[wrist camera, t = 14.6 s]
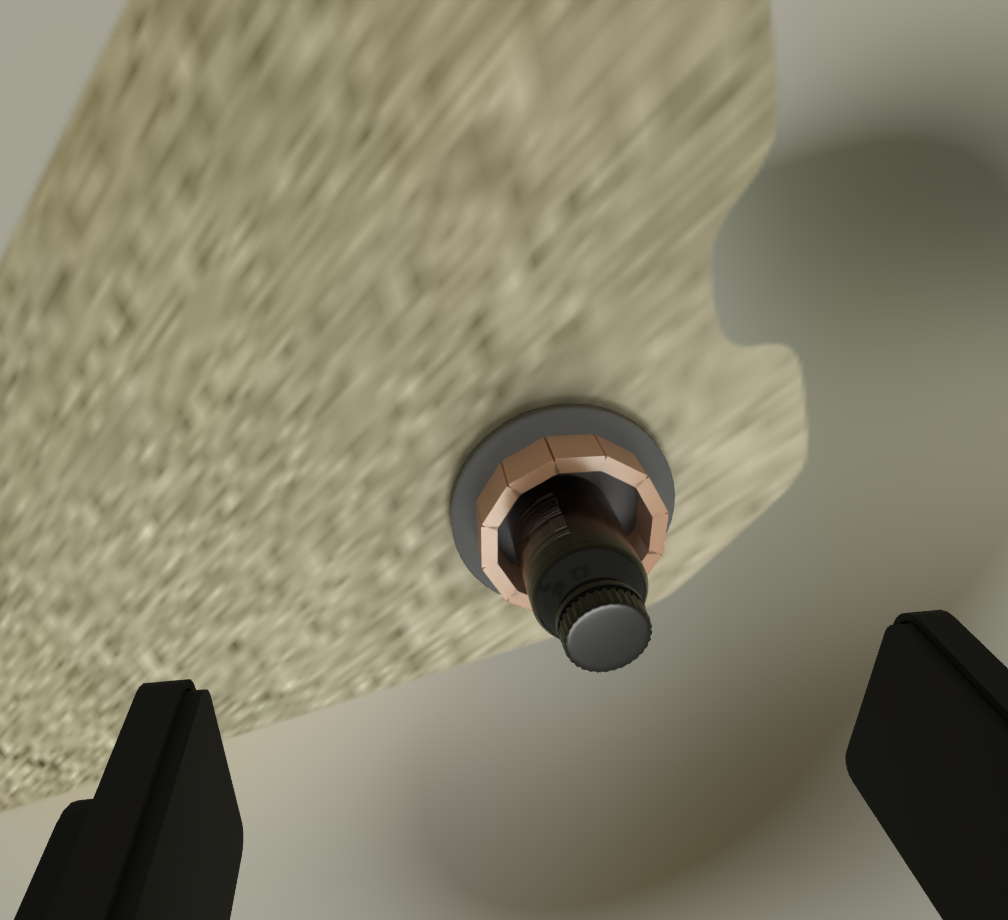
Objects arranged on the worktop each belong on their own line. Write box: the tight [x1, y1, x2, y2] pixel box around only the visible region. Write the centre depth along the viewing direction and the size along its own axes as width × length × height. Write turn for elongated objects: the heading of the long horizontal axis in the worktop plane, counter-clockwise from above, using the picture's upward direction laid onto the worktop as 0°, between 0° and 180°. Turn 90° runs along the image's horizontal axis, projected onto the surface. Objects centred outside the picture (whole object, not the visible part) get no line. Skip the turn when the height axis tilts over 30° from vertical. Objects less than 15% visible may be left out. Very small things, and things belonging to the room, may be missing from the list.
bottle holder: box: [450, 404, 675, 611], centre depth 48 cm, size 15×15×4 cm
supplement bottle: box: [509, 475, 652, 672], centre depth 43 cm, size 7×7×12 cm
